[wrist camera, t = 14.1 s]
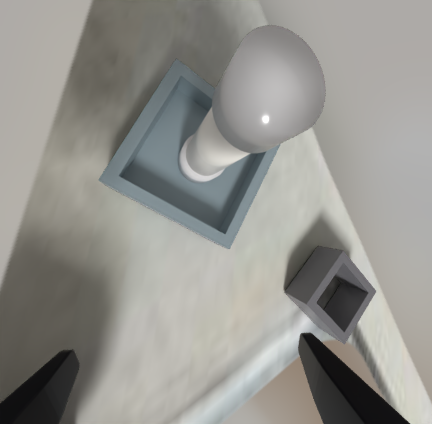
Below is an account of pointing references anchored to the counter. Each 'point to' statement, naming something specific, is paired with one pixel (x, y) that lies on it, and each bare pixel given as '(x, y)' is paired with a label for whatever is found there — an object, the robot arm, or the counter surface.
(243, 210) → the parts tray
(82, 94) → the counter surface
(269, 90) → the white rounded column
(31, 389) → the robot arm
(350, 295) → the light bulb socket
